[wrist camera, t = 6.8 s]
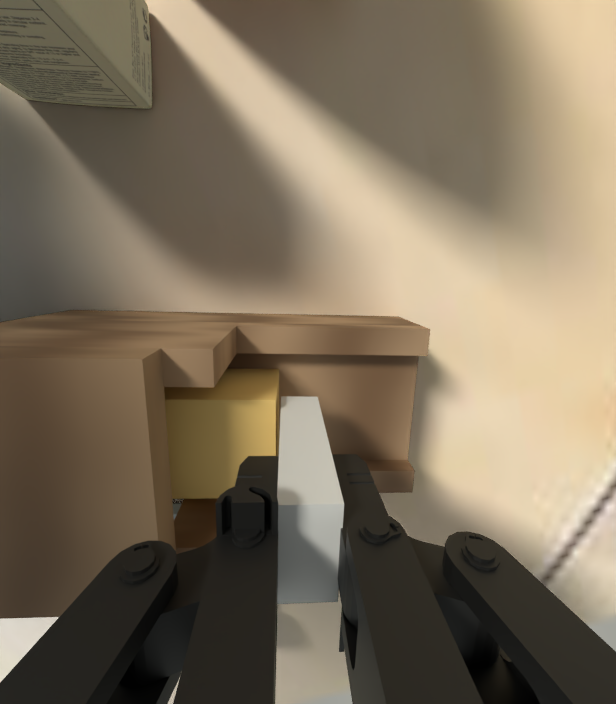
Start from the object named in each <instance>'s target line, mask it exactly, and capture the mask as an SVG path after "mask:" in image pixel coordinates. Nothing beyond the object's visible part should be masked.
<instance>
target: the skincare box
mask: <svg viewBox="0 0 616 704" xmlns="http://www.w3.org/2000/svg"><path fill="white" fill-rule="evenodd" d="M0 83H1V84H3V85H4V86H6V87H7V88H9V89H10V90H12V91H14V92H15V93H17V94H18V95H20V96H21V97H23V98H25V99H28V100H35V101H43V102H52V103H62V104H74V105H87V106H101V107H120V108H144V109H149V108H151V107H152V65H151V39H150V25H149V12H148V6H147V4H146V2H145V1H144V0H0Z"/></svg>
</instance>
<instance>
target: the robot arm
mask: <svg viewBox="0 0 616 704" xmlns="http://www.w3.org/2000/svg"><path fill="white" fill-rule="evenodd" d="M215 506H216V532H217V537H216V538H214V539H213V540H212V541H210V542H209V543H207V544H205V545H204V546H201V547H198V548H196V549H193V550H189V551H186V552H182V553H179V554H176V551H175V550H174V549H173V547H172V546H171V545H170V544H168V543H165V542H163V541H145V542H141V543H137V544H134V545H132V546H130V547H128V548H126V549H124V550H123V551H121V552H120V553H119V554H117V555H116V556H115V557H114V558H113V559H112V560H110V561H109V563H108V564H107V565H106V566H105V567H104V568H103V569H102V570H101V571H100V573H99V574H98V575H97V576H96V577H95V578H94V579H93V580H92V581H91V583H90V584H89V585H88V586H87V587H86V588H85V589H84V590H83V591H82V593H81V594H80V595H79V596H78V597H77V598H76V599H75V600H74V601H73V603H72V604H71V605H70V606H69V607H68V608H67V609H66V610H65V611H64V613H63V614H62V615H61V616H60V617H59V618H58V619H57V620H56V622H55V623H54V624H53V625H52V626H51V627H50V628H49V629H48V630H47V632H46V633H45V634H44V635H43V636H42V637H41V638H40V639H39V640H38V642H37V643H36V644H35V645H34V646H33V647H32V648H31V649H30V650H29V652H28V653H27V654H26V655H25V656H24V657H23V658H22V659H21V660H20V662H19V663H18V664H17V665H16V666H15V667H14V668H13V669H12V670H11V672H10V673H9V674H8V675H7V676H6V677H5V678H4V679H3V680H2V682H1V683H0V704H167V703H168V701H169V699H170V697H171V694H172V692H173V690H174V688H175V686H176V684H177V682H178V680H179V677H180V680H179V684H178V688H177V691H176V695H175V699H174V703H173V704H275V686H276V644H277V604H288V603H316V602H338V593H339V591H340V597H341V603H342V613H341V627H340V643H339V652H344V649H345V656H346V662H347V669H348V676H349V682H350V689H351V696H352V702H353V704H616V652H615V651H614V650H613V649H612V648H611V647H610V646H609V645H608V644H606V642H604V641H603V640H602V639H601V638H600V637H599V636H598V635H597V634H596V633H595V632H594V631H593V630H592V629H590V628H589V627H588V626H587V625H586V624H585V623H584V622H583V621H582V620H581V619H580V618H579V617H578V616H576V615H575V614H574V613H573V612H572V611H571V610H570V609H569V608H568V607H567V606H566V605H565V604H564V603H562V602H561V601H560V600H559V599H558V598H557V597H556V596H555V595H554V594H553V593H552V592H551V591H549V590H548V589H547V588H546V587H545V586H544V585H543V584H542V583H541V582H540V581H539V580H538V579H537V578H535V577H534V576H533V575H532V574H531V573H530V572H529V571H528V570H527V569H526V568H525V567H524V566H522V565H521V564H520V563H519V562H518V561H517V560H516V559H515V558H514V557H513V556H512V555H511V554H510V553H508V552H507V551H506V550H505V549H504V548H503V547H501V546H500V545H499V544H497V543H496V542H495V541H493V540H491V539H489V538H487V537H485V536H482V535H480V534H476V533H471V532H456V533H454V534H452V535H450V536H449V537H448V539H447V541H446V543H445V547H443V546H438V545H434V544H430V543H426V542H422V541H419V540H416V539H413V538H411V537H409V536H407V534H406V532H405V530H404V529H403V527H402V526H401V525H400V523H398V522H397V521H396V520H394V519H393V518H392V517H390V516H388V514H387V511H386V509H385V507H384V504H383V502H382V499H381V497H380V495H379V492H378V490H377V487H376V485H375V484H374V480H373V478H372V475H371V473H370V470H369V468H368V466H367V463H366V462H365V461H364V460H362V459H361V458H360V457H359V456H358V455H357V454H332V453H331V449H330V445H329V441H328V437H327V433H326V429H325V425H324V421H323V417H322V412H321V408H320V404H319V400H318V397H303V396H281V413H280V438H279V456H248V457H247V458H246V459H245V460H244V461H243V462H242V463H241V464H240V466H239V470H238V474H237V479H236V483H235V487H232V488H229V489H228V490H226V491H225V492H224V493H222V494H221V495H220V496H219V498H218V500H217V501H216V503H215ZM181 671H182V672H181ZM180 675H181V676H180Z"/></svg>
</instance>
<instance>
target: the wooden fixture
mask: <svg viewBox="0 0 616 704" xmlns="http://www.w3.org/2000/svg"><path fill="white" fill-rule="evenodd" d="M429 336H430V329H428V328H425V327H423V326H420V325H418V324H415V323H413V322H410V321H408V320H405V319H403V318H400V317H390V316H341V315H292V314H243V313H193V312H144V311H95V310H69V311H63V312H57V313H51V314H45V315H39V316H33V317H28V318H22V319H16V320H10V321H4V322H0V618H32V617H60V616H61V615H62V614H63V613H64V611H65V610H66V609H67V608H68V607H69V606H70V605H71V604H72V603H73V601H74V600H75V599H76V598H77V597H78V596H79V595H80V594H81V593H82V591H83V590H84V589H85V588H86V587H87V586H88V585H89V584H90V583H91V581H92V580H93V579H94V578H95V577H96V576H97V575H98V574H99V573H100V571H101V570H102V569H103V568H104V567H105V566H106V565H107V564H108V563H109V561H110V560H112V559H113V558H114V557H115V556H116V555H117V554H119V553H120V552H121V551H123V550H124V549H126V548H128V547H130V546H132V545H134V544H137V543H141V542H145V541H163V542H165V543H168V544H170V545H171V546H172V547H173V549H174V550H175V551H176V554H179V553H182V552H186V551H189V550H193V549H196V548H198V547H201V546H204V545H205V544H207V543H209V542H210V541H212V540H213V539H214V538H216V537H217V532H216V506H215V503H216V501H217V500H218V498H201V499H184V500H183V502H182V504H181V506H180V509H179V511H178V513H177V515H176V517H175V519H174V516H173V502H172V489H171V476H170V462H169V449H168V435H167V422H166V409H165V395H164V387H215V385H216V384H217V382H218V381H219V379H220V378H221V376H222V375H223V373H224V372H225V370H226V369H279V438H280V413H281V396H303V397H318V400H319V404H320V408H321V412H322V417H323V421H324V425H325V429H326V433H327V437H328V441H329V445H330V449H331V453H332V454H357V455H358V456H359V457H360V458H361V459H362V460H364V461H365V462H366V463H367V466H368V468H369V470H370V473H371V475H372V478H373V480H374V484H375V485H376V487H377V490H378V492H379V493H393V492H412V490H413V481H414V472H415V471H414V469H413V467H412V466H411V464H410V463H409V461H408V451H409V442H410V432H411V423H412V413H413V403H414V394H415V384H416V375H417V365H418V356H427V354H428V345H429ZM278 456H279V451H278Z"/></svg>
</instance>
